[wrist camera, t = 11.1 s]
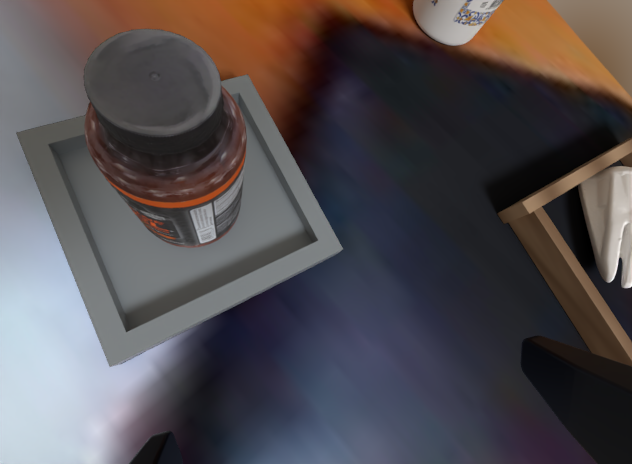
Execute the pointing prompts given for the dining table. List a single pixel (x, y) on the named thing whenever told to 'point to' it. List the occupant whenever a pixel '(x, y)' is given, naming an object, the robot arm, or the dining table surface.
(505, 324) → the dining table surface
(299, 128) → the dining table surface
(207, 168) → the supplement bottle
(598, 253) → the salt and pepper shakers
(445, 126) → the dining table surface
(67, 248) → the tray
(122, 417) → the dining table surface
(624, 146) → the frame
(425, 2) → the bath foam
